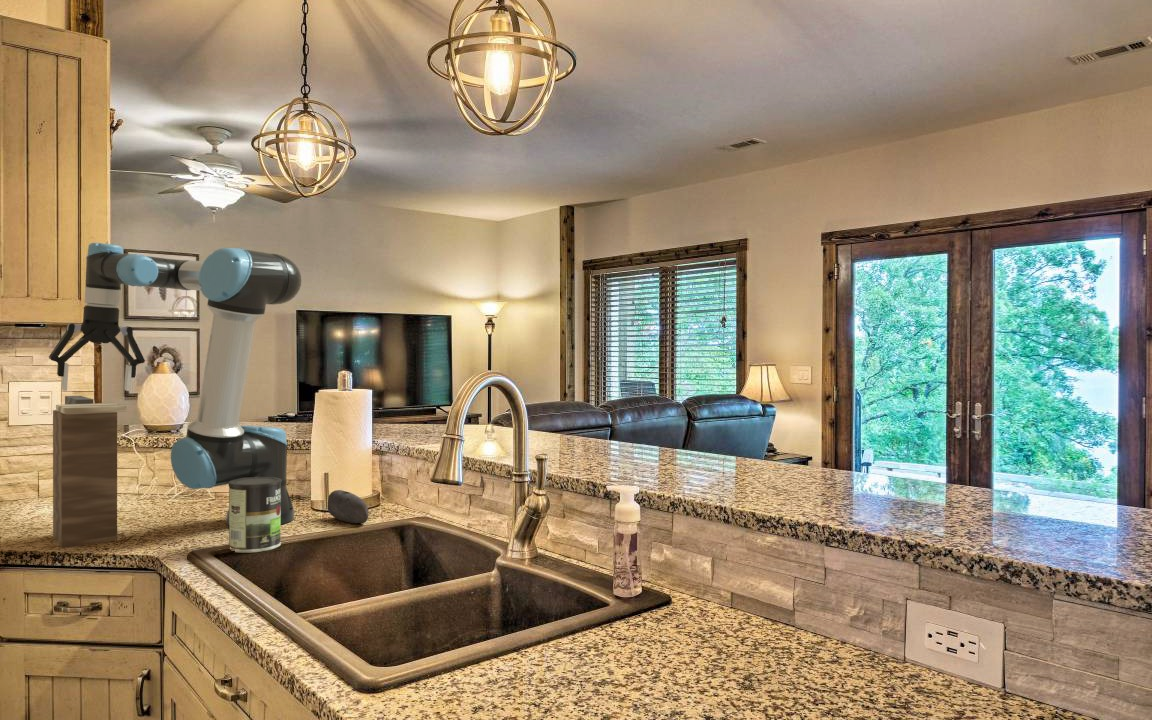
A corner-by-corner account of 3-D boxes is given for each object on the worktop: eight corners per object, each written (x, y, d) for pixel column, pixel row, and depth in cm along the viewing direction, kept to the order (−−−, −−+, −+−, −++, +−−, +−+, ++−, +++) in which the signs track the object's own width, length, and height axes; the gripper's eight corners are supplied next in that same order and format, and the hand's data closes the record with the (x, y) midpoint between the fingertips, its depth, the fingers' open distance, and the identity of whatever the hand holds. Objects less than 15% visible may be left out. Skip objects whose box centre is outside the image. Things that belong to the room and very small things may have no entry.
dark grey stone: (376, 525, 180) (376, 496, 180) (355, 529, 176) (356, 499, 176) (344, 515, 190) (345, 488, 190) (325, 518, 186) (325, 490, 186)
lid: (45, 405, 172) (45, 396, 172) (99, 403, 179) (99, 395, 179) (65, 414, 151) (65, 404, 151) (126, 411, 158) (126, 401, 158)
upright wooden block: (53, 537, 166) (52, 410, 165) (105, 530, 172) (105, 408, 172) (62, 548, 157) (61, 413, 156) (117, 540, 164) (117, 411, 163)
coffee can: (288, 540, 164) (289, 476, 164) (268, 553, 154) (268, 484, 154) (242, 540, 165) (242, 475, 164) (218, 553, 154) (218, 484, 154)
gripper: (153, 308, 199) (147, 388, 200) (38, 300, 182) (33, 387, 183) (161, 310, 194) (155, 392, 195) (44, 302, 177) (38, 392, 178)
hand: (96, 390), depth 189 cm, fingers open, 13 cm apart
